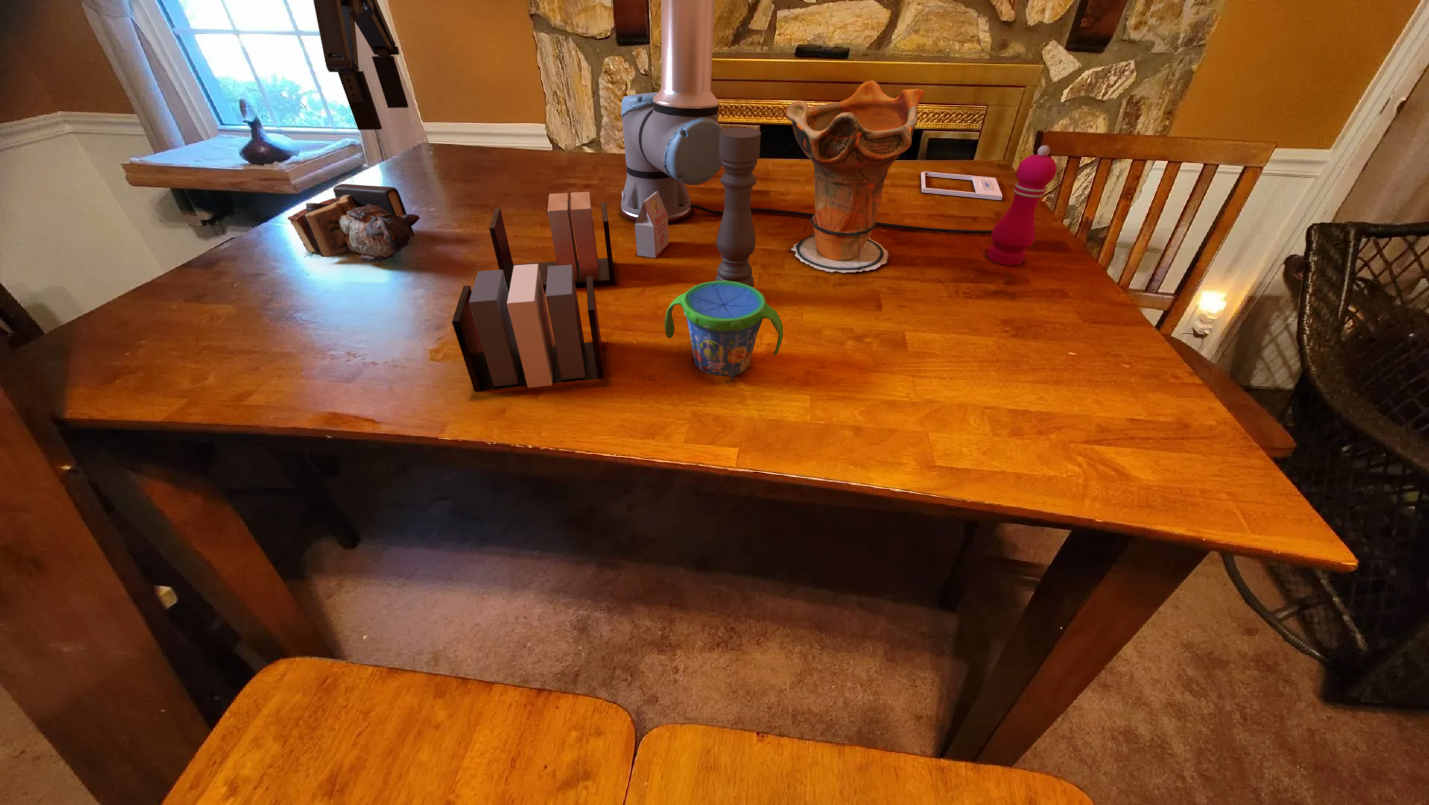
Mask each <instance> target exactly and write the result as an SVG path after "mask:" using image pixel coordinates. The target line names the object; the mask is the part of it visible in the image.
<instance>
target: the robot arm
mask: <svg viewBox="0 0 1429 805" xmlns="http://www.w3.org/2000/svg"><path fill="white" fill-rule="evenodd" d="M312 1H313V6H314V11H315V17H316V22H317V27H318V32H319V37H320V43H321V47H322V48H321V49H322V52H323V53H322V54H323V58H324V63H325V67H326V69H327V71H328V72H329V73H337V75H338V78H339V81H340V83H341V85H342V88H343V91H344V94H345V97H346V100H347V102H348V106H349V108H350V111H351V114H352V116H353V119H354V121H355V125H356V128H357V130H358V131H375V130H376V131H377V130H378V131H380V130H382V129H383V126H382V123H381V120H380V118H379V114H378V112H377V108H376V105H375V102H374V99H373V97H372V93H371V90H370V87H369V84H368V80H367V78H366V75H365V72H364V70H360V66H359V56H358V55H359V53H358V44H357V43H358V42H357V32H356V26H357V28H358V29H359V30H360V33H361V34H362V36H363V38H364V40H365V41H366V43H367V44H368V46H369V48H370V50H371V51H372V53H373V54H374V55H373V56H371V59H372V62H373V65H374V68H375V71H376V75H377V78H378V81H379V84H380V87H381V91H382V93H383V97H384V100H385V103H386V106H387V109H408V108H409V103H408V99H407V96H406V94H405V90H404V87H403V86H404V85H403V83H402V79H401V76H400V73H399V69H398V66H397V63H396V59H395V56H399V55H400V49H399V46H397V45H396V41H395V40H394V37H393V35H392V32H391V29H390V27H389V25H388V23H387V21H386V18H385V16H384V13H383V11H382V9H381V6H380V5H379V4H380V3H379V1H378V0H312ZM660 1H661V3H660V5H661V7H660V8H661V11H660V12H661V14H660V16H661V18H660V19H661V25H660V26H661V46H660V47H661V86H660V89H659V90H658V92H657V91H656V92H643V93H642V92H641V93H634V94H628V95H626V96H624V97H623V98H622V100H621V114H620V117H621V124H622V134H623V145H624V156H625V168H626V178H625V183H624V184H625V185H624V188H623V189H622V191H621V201H620V208H621V209H620V210H621V214H622V216H623V217H624V218H625V219H627V220H629V221H633V222H635V223H636V220H637V218H638V216H639V213H640V210H641V207H642V202H644V201H645V200H646V199H647V198H649V197H650V196H651V195H652V194H653V193H655V192H656V191H657V192H658V191H659V195H660V198H661V201H662V203H663V205H664V207H665V209H666V212H667V214H668V224H669V223H675V222H678V221H681V220H684V219H687V217H689V216H690V215H691V214H692V208H693V209H695V210H696V209H697V210H700V211H702V212H703V211H704V212H707V213H709V214H712V215H722V216H723V212H724V210H714V209H711V208H708V207H705V206H702V205H698V204H694V203H692V201H691V197H690V195H689V191H688V188H687V185H688V186H698V185H702V184H705V183H707V182H709V181H710V180H712V179H713V178H714V177H715V175H716V174H718V173H719V172H720V171H721V169H722V168H723V165H722V164H721V158H720V157H719V141H720V131H721V130H723V129H724V128H723V127H722V125H721V124H720V123H719V107H720V106H719V104H720V102H719V100H718V99H717V98H716V96H715V95H714V93H713V92H712V71H713V70H712V69H713V51H714V50H713V49H714V48H713V46H714V26H715V6H716V5H715V4H716V3H715V1H716V0H660ZM750 209H751V212H762V213H772V214H783V215H792V216H800V217H810V218H812V217H813V215H815V213H811V212H803V211H796V210H795V211H794V210H783V209H776V208H775V209H774V208H766V207H750ZM876 222H877V223H876V226H875V227H883V228H884V227H885V228H892V229H902V230H910V231H922V232H933V233H948V234H973V235H991V234H992V231H993V229H957V228H956V229H955V228H938V227H926V226H916V225H915V226H914V225H907V224H906V225H905V224H895V223H889V222H879V221H876Z"/></svg>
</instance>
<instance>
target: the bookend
mask: <svg viewBox="0 0 1429 805" xmlns="http://www.w3.org/2000/svg"><path fill="white" fill-rule="evenodd" d="M332 191H333V194H334V197H333V198H329V199H327V200H323V201H321V202H318V203H317V202H306V203H305V208H303V209H302V210H299V211H297V212H295V213H294V214H293V215H291V216H288V217H287V220H289V221H290V224H291V225H292V227H293V228H294V230H295V232H296V234H297V236H298V237H299V239H300V240H301V243H302V246H303V247H304V248H305V250H306V251H307V252H308V253H315V254H316V255H317V254H318V255H319V256H320V257H322V258H332V257H334V256H335V255H338V254H341V253H345V252H346V253H351V252H352V253H358V254H360V259H361V261H362V262H366V263H368V262H369V263H381V262H386V261H390V259H392V258H394V257H395V256H396V255H397V254H398V253H400V252H401V251H402V249H403V248H405V247H406V246H408V244H409V242H410V240H411V238H412V237H414V236H415V232H414V230H413V226H414V225H415V224H417V222H418V221H419V220H420V218H421V217H420V216H419V215H418V214H413V213H407V211H406V207H405V205H404V202H403V200H402V197H401V194H400V191H399V190H398V189H397V188H396V187H394V186H386V185H385V186H384V185H383V186H381V185H366V184H353V183H341V184H337V185H335V186H334V187H333V188H332Z"/></svg>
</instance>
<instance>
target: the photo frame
mask: <svg viewBox="0 0 1429 805" xmlns="http://www.w3.org/2000/svg"><path fill="white" fill-rule="evenodd" d="M923 171H924V170H923ZM926 177H934V178H943V179H944V178H945V179H953V180H954V179H956V180H963V181H964V180H965V181H972V184H973V188H974V191H975V192H972V191H963V190H962V191H961V190H953V189H943V188H932V187H926ZM920 182H921V183H920V184H921V193H923V194H925V193H926V194H938V195H944V196H945V195H946V196H956V197H966V198H974V199H975V198H976V199H986V200H996V201H1002V200H1003V194H1002V192H1001V188H1000V186H999V183H998V181H997V178H996V177H990V176H979V175H970V174H957V173H947V172H946V173H945V172H935V171H924V172H922V171H921V173H920Z"/></svg>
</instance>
